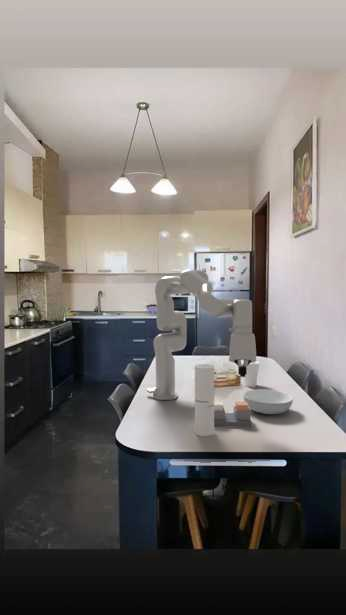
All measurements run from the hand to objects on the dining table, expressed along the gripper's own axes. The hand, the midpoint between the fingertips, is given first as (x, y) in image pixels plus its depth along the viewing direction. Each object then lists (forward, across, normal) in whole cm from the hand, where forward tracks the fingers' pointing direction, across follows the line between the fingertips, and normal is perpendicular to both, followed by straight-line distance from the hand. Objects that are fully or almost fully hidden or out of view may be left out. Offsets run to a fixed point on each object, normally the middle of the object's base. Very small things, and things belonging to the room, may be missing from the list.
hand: (242, 376), depth 144 cm
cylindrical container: (+19, -16, -10) cm, 27 cm away
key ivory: (+14, -10, 0) cm, 17 cm away
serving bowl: (+19, +13, +14) cm, 27 cm away
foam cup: (+19, +13, +56) cm, 61 cm away
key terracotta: (+14, 0, 0) cm, 14 cm away
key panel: (+19, -5, 0) cm, 19 cm away
